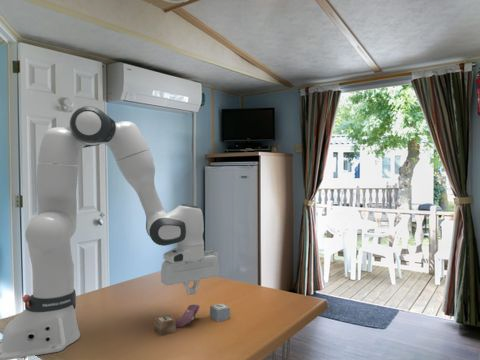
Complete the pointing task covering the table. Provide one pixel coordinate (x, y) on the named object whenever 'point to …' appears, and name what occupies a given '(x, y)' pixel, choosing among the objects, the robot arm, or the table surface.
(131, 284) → the table surface
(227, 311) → the slate grey block
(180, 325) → the video game controller
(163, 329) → the walnut block
